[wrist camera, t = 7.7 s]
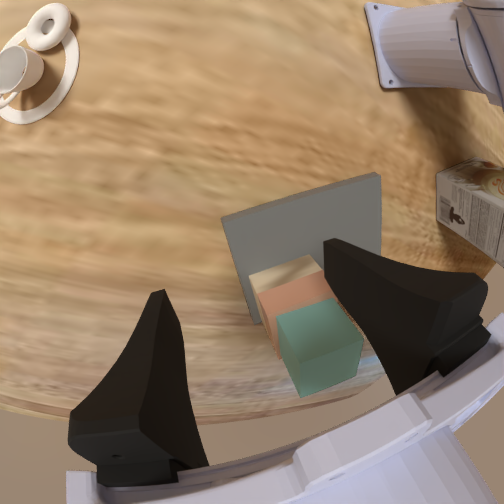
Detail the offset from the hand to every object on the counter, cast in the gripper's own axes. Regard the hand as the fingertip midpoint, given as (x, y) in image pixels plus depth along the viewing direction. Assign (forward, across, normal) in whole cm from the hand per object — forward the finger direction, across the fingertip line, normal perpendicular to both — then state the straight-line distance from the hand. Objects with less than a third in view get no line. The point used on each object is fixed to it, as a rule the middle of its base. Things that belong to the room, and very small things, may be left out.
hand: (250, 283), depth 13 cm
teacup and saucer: (+11, +8, -14) cm, 19 cm away
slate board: (+10, -7, +7) cm, 14 cm away
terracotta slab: (+7, -4, +9) cm, 12 cm away
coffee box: (+11, -28, +5) cm, 30 cm away
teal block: (+4, -4, +9) cm, 11 cm away
